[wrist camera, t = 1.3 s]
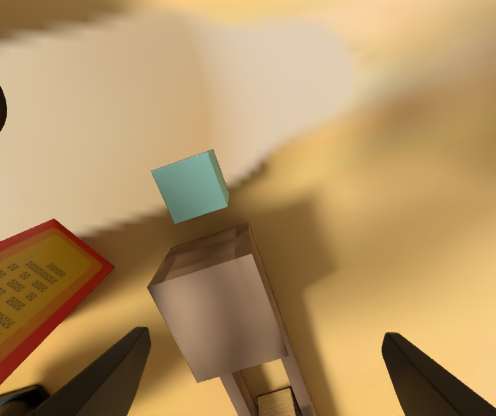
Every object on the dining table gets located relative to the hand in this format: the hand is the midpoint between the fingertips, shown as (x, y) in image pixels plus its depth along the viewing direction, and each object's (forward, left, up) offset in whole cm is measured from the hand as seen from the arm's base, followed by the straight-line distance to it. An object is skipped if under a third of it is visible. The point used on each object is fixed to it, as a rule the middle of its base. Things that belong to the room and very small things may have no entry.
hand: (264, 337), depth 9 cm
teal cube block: (-3, +5, -13) cm, 14 cm away
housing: (-4, -15, -13) cm, 20 cm away
